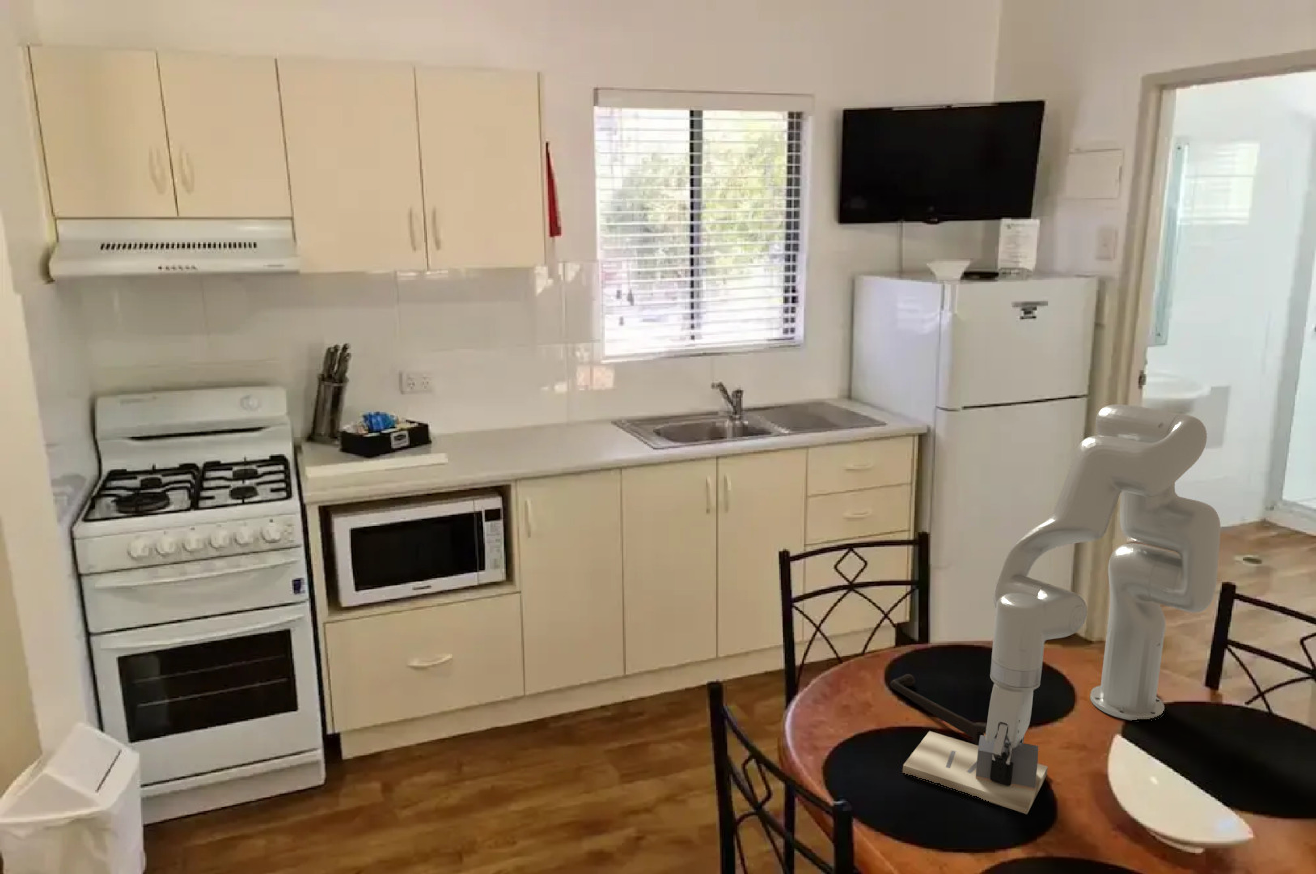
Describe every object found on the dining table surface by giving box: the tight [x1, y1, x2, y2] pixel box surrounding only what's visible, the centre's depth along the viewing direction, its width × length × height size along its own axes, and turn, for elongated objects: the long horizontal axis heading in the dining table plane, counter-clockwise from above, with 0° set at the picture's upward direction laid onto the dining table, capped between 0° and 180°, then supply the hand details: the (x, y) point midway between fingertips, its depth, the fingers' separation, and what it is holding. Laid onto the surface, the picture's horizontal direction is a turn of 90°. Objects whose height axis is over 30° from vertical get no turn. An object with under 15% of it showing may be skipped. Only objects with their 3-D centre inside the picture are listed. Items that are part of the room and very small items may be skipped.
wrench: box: [889, 673, 996, 746], centre depth 178 cm, size 5×5×30 cm
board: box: [902, 730, 1049, 815], centre depth 161 cm, size 13×20×2 cm, turn 56°
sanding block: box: [976, 734, 1039, 790], centre depth 158 cm, size 5×9×5 cm, turn 68°
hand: (1006, 772), depth 158 cm, fingers closed on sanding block, 5 cm apart
